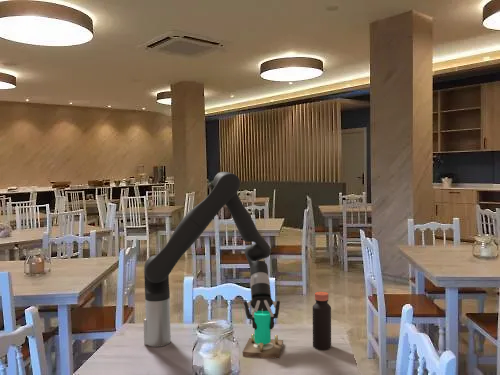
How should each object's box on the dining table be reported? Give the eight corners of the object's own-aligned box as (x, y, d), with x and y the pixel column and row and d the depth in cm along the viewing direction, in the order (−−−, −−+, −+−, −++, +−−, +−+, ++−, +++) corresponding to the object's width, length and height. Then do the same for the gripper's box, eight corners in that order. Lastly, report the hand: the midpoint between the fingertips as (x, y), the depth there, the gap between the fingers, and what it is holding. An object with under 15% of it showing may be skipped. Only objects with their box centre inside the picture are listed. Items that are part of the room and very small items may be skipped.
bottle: (335, 347, 166) (334, 293, 165) (322, 352, 162) (322, 297, 161) (321, 341, 171) (321, 289, 171) (308, 346, 167) (308, 293, 166)
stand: (242, 356, 159) (242, 351, 159) (249, 342, 172) (249, 337, 172) (279, 358, 157) (279, 353, 157) (283, 343, 170) (283, 339, 170)
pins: (247, 351, 160) (247, 342, 160) (251, 341, 168) (251, 333, 168) (275, 352, 158) (275, 344, 158) (278, 343, 167) (278, 335, 167)
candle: (269, 344, 161) (269, 311, 160) (252, 343, 162) (252, 310, 162) (271, 338, 167) (271, 306, 166) (256, 337, 168) (255, 305, 167)
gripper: (242, 282, 171) (244, 324, 159) (279, 281, 172) (284, 323, 160) (241, 292, 176) (243, 333, 165) (278, 291, 177) (282, 332, 166)
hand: (263, 328), depth 163 cm, fingers closed on candle, 5 cm apart
